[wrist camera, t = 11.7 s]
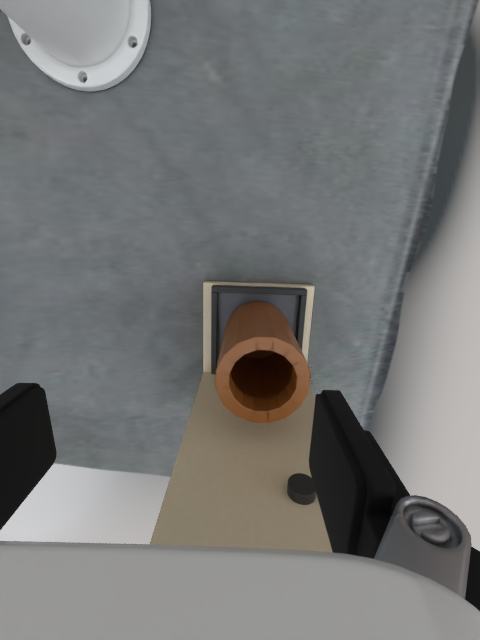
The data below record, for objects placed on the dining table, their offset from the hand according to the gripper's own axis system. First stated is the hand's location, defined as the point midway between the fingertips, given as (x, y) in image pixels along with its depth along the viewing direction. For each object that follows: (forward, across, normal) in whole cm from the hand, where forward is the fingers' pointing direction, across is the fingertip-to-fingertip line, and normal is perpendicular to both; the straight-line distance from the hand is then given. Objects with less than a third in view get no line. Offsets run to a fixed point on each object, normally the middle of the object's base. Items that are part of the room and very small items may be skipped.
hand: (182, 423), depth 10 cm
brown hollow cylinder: (+23, -4, +4) cm, 23 cm away
